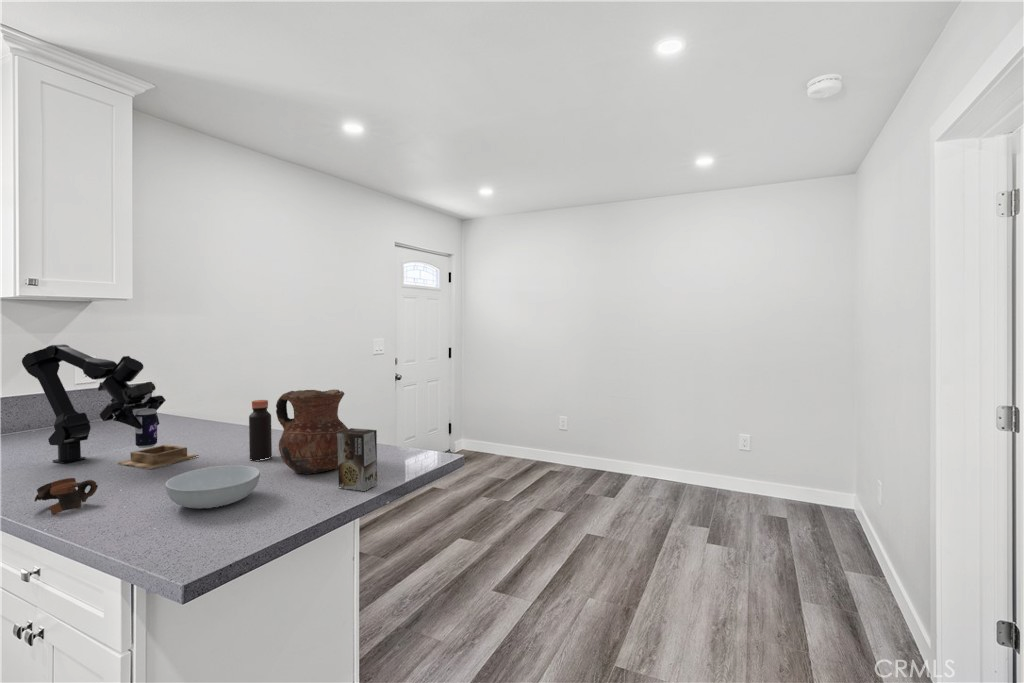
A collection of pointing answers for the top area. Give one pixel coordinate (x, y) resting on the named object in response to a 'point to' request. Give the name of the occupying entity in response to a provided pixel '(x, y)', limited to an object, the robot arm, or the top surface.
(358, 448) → the coffee box
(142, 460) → the socket board
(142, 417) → the beverage can
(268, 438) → the bottle
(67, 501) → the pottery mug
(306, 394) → the jug
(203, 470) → the serving bowl
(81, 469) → the top surface
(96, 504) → the top surface
